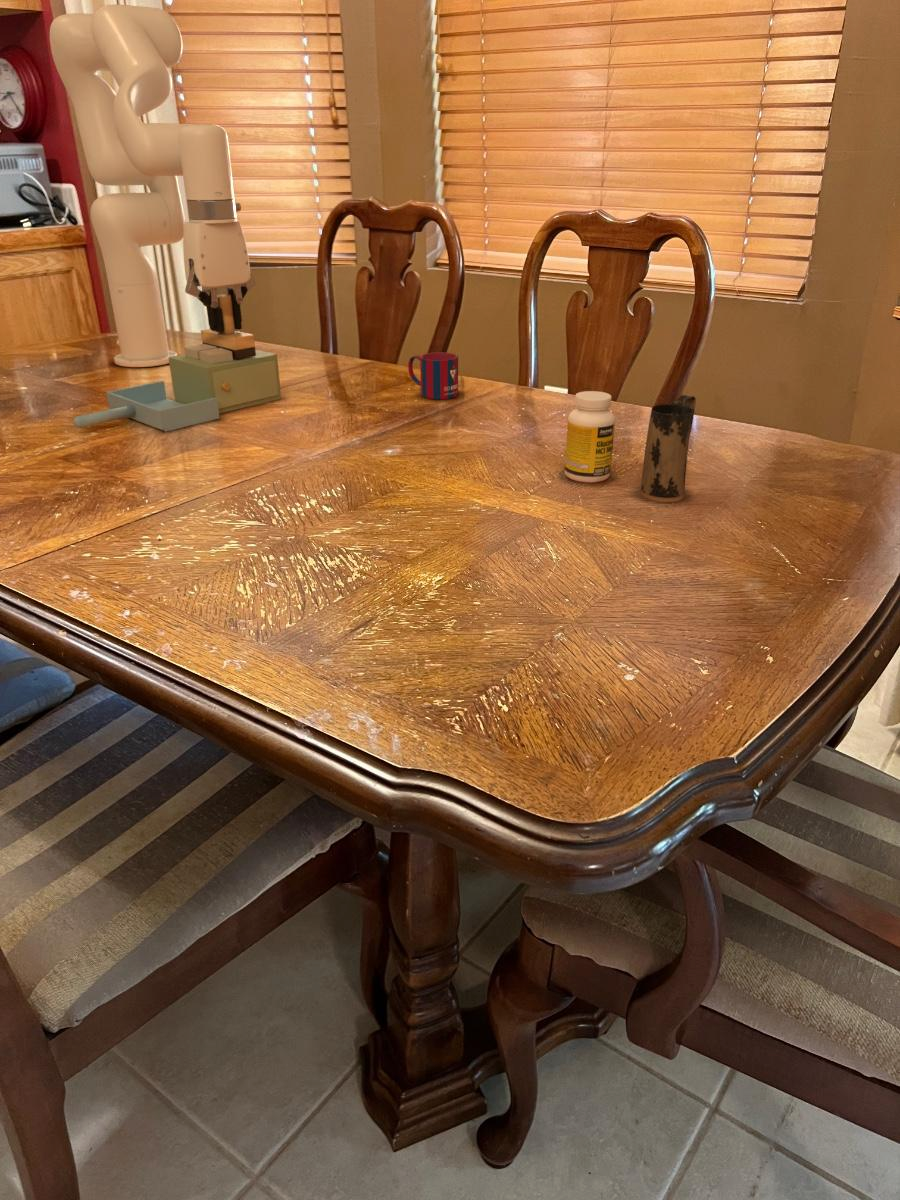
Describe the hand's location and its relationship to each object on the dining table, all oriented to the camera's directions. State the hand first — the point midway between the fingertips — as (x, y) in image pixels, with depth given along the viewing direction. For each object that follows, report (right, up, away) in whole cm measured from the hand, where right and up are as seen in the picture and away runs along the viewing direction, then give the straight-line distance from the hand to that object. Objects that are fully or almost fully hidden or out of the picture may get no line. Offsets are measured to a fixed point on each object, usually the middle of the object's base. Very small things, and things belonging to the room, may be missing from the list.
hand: (226, 328), depth 147 cm
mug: (+66, -33, -35) cm, 82 cm away
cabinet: (-1, -11, +5) cm, 12 cm away
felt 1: (-5, -4, +1) cm, 6 cm away
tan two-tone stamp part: (0, -4, +2) cm, 4 cm away
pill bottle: (+57, -30, -30) cm, 71 cm away
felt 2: (-1, -6, -2) cm, 6 cm away
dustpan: (-13, -17, -6) cm, 22 cm away
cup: (+35, -9, +9) cm, 37 cm away
